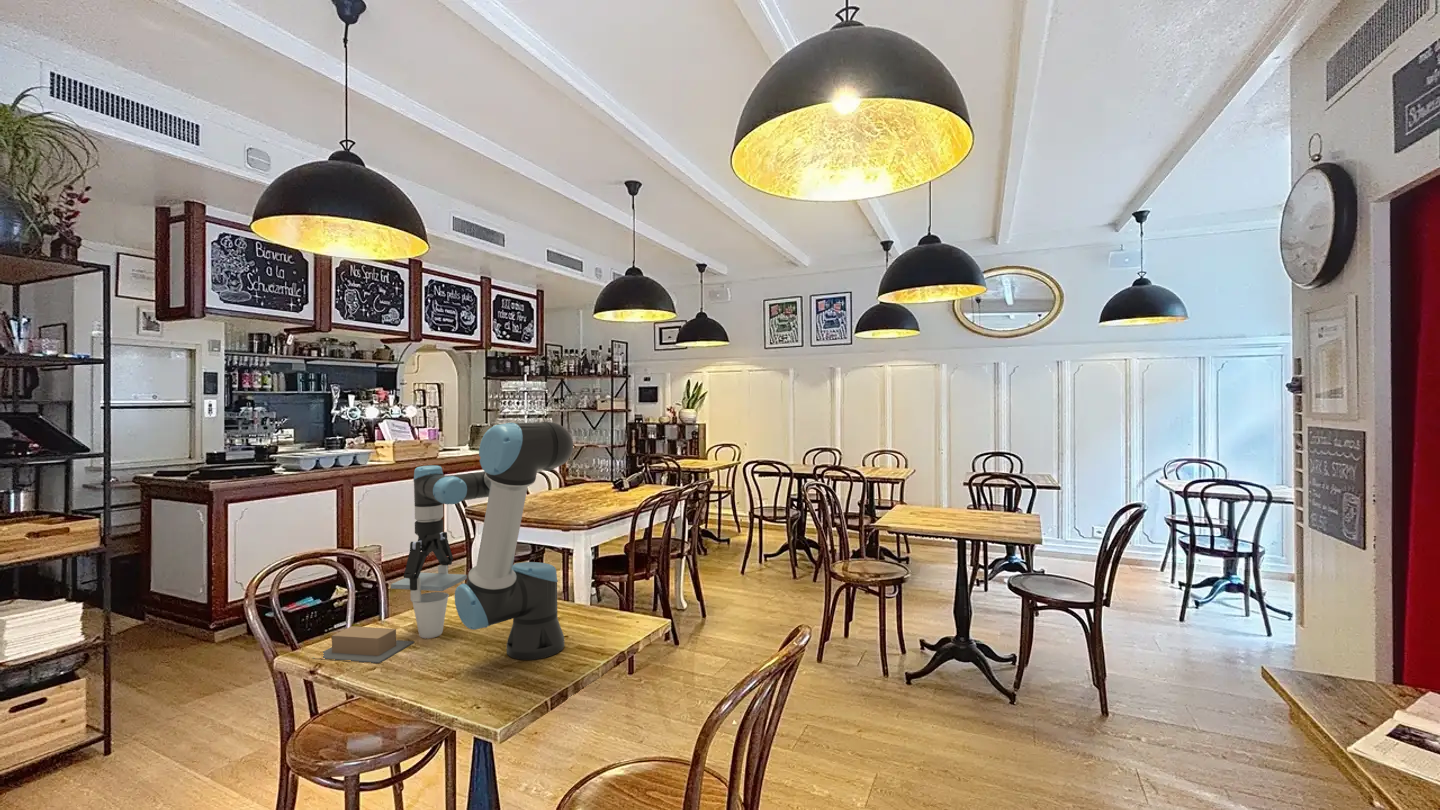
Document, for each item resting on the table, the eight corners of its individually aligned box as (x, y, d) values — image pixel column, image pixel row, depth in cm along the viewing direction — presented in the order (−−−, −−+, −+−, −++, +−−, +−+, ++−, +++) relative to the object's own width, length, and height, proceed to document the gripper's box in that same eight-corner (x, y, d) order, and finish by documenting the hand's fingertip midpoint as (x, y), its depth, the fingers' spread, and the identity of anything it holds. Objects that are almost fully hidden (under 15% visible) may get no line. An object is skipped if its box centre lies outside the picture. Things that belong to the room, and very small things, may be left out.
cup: (440, 641, 178) (439, 602, 178) (405, 641, 178) (404, 602, 178) (455, 628, 188) (454, 591, 188) (422, 628, 188) (421, 591, 188)
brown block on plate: (414, 642, 177) (414, 624, 177) (379, 663, 163) (378, 644, 163) (351, 638, 181) (351, 621, 181) (311, 658, 167) (311, 639, 167)
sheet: (466, 578, 187) (466, 574, 187) (442, 591, 176) (442, 586, 176) (418, 576, 190) (418, 572, 190) (390, 588, 178) (390, 584, 178)
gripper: (442, 511, 195) (443, 581, 195) (388, 527, 171) (389, 607, 172) (464, 512, 194) (465, 582, 194) (413, 528, 170) (414, 608, 170)
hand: (430, 594), depth 183 cm, fingers closed on sheet, 12 cm apart
